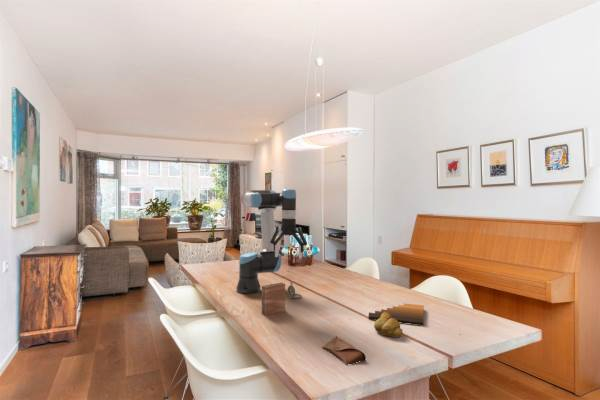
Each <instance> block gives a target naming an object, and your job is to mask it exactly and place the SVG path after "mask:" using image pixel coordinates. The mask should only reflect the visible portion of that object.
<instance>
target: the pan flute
mask: <svg viewBox="0 0 600 400" xmlns="http://www.w3.org/2000/svg"><path fill="white" fill-rule="evenodd" d="M424 309H425V307H424V305H421V304H412V303H405V302H404V303H403V304H397V306H395V305H392V307H386V309H380V310H375V311H374V312H368V320H371V319H376V320H378V319H379V318H380V317H381V314H382V313H383V312H388V313H390V315H391V316H392V318H394V319H396V320H397V321H398V322H402V323H401V324H404V323H411V324H410V325H412V324H420V325H423V326H424V315H423V314H424V311H425V310H424ZM376 320H375V321H376ZM420 325H419V326H420Z"/></svg>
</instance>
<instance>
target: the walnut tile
mask: <svg viewBox="0 0 600 400" xmlns="http://www.w3.org/2000/svg"><path fill="white" fill-rule="evenodd" d="M282 312H286V283H283V282H278V283H272V284H264V285H261V314H262V315H264V316H269V315H273V314H277V313H282Z"/></svg>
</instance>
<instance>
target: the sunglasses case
mask: <svg viewBox="0 0 600 400" xmlns="http://www.w3.org/2000/svg"><path fill="white" fill-rule="evenodd" d="M321 348H322V350H325V351H326V350H327V351H326V352H328V351H329V352H328V353H330V354H331V355H332V354H333V355H332V356H334V357H335V356H336V357H335V358H337V359H338V358H339V359H340V360H339V359H338V360H339V361H341V362H342V361H343V362H344V363H345V364H346V365H345V364H344V365H345V366H347V365H348V364H352V365H354V364H353V363H355V364H357V363H356V362H359V361H363V360H365V361H366V354H365V353H364V352H363V351H361V350H360V349H357V348H356V347H355V346H353V345H351V344H350V343H348V342H347V341H345V340H343V339H341V338H340V337H338V336H337V335H335V337H333V338H332V339H331V340H330V341H329V342H327V343H325V345H323V346H322V347H321ZM343 362H342V363H343ZM363 362H364V361H363ZM359 363H360V362H359Z"/></svg>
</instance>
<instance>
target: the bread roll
mask: <svg viewBox="0 0 600 400" xmlns="http://www.w3.org/2000/svg"><path fill="white" fill-rule="evenodd" d="M373 327H374V330H375V332H376V333H380V334H382V335H383V336H387V337H393V338H400V337H402V336H403V329H402V328H401V323H399V322H398V321H397V320H396V319H394V318H392V316H391V315H390V313H388V312H383V313H382V314H381V317H380V318H379V319H378V320H375V321H374V325H373Z"/></svg>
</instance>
